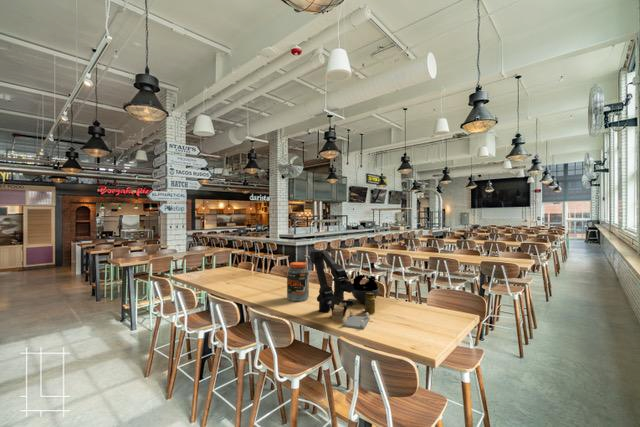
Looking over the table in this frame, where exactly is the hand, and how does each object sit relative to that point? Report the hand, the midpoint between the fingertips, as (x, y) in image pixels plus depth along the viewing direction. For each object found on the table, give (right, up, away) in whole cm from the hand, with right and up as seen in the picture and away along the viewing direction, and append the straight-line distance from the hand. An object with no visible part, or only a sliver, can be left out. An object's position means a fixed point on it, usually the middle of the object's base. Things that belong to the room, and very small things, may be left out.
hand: (338, 315), depth 177 cm
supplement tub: (-27, -1, +38) cm, 47 cm away
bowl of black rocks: (+20, -1, +31) cm, 37 cm away
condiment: (+19, -1, +9) cm, 21 cm away
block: (0, -1, 0) cm, 1 cm away
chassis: (+9, -1, -9) cm, 13 cm away
